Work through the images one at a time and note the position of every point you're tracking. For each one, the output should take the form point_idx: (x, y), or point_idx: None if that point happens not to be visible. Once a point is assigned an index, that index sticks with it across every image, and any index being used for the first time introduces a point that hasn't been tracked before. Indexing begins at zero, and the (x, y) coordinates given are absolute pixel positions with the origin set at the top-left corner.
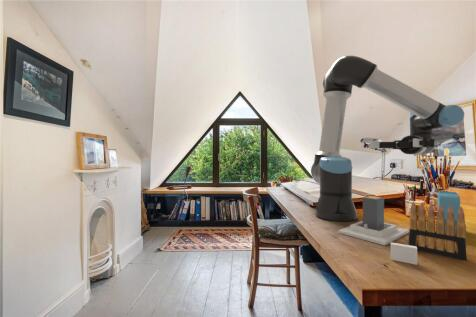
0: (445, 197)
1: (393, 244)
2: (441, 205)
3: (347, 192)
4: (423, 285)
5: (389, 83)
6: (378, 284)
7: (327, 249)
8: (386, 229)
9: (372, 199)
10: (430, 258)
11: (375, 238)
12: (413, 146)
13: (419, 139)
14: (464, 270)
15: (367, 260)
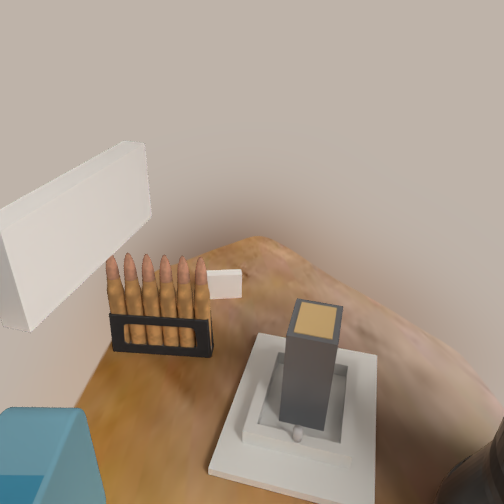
0: (59, 408)
1: (236, 269)
2: (144, 255)
3: (497, 439)
4: (201, 255)
5: None
6: (245, 241)
7: (337, 281)
8: (265, 372)
9: (309, 301)
10: None
11: (281, 344)
12: (147, 214)
13: (56, 186)
14: None
15: (270, 276)
